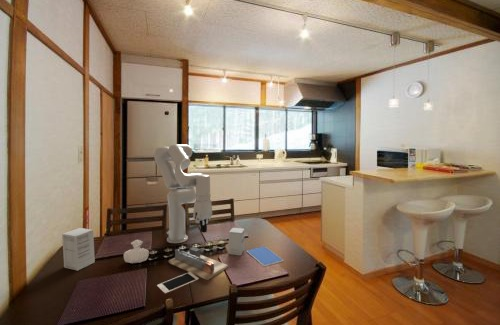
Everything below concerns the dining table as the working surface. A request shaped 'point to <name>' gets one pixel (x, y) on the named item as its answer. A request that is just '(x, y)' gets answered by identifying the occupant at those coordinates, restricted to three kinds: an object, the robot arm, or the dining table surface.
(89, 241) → the supplement box
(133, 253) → the white rounded piece
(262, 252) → the tablet computer
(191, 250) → the lock slider
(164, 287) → the cell phone
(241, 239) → the supplement box
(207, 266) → the tongs fixed arm
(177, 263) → the rest board
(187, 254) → the tongs hinged arm
